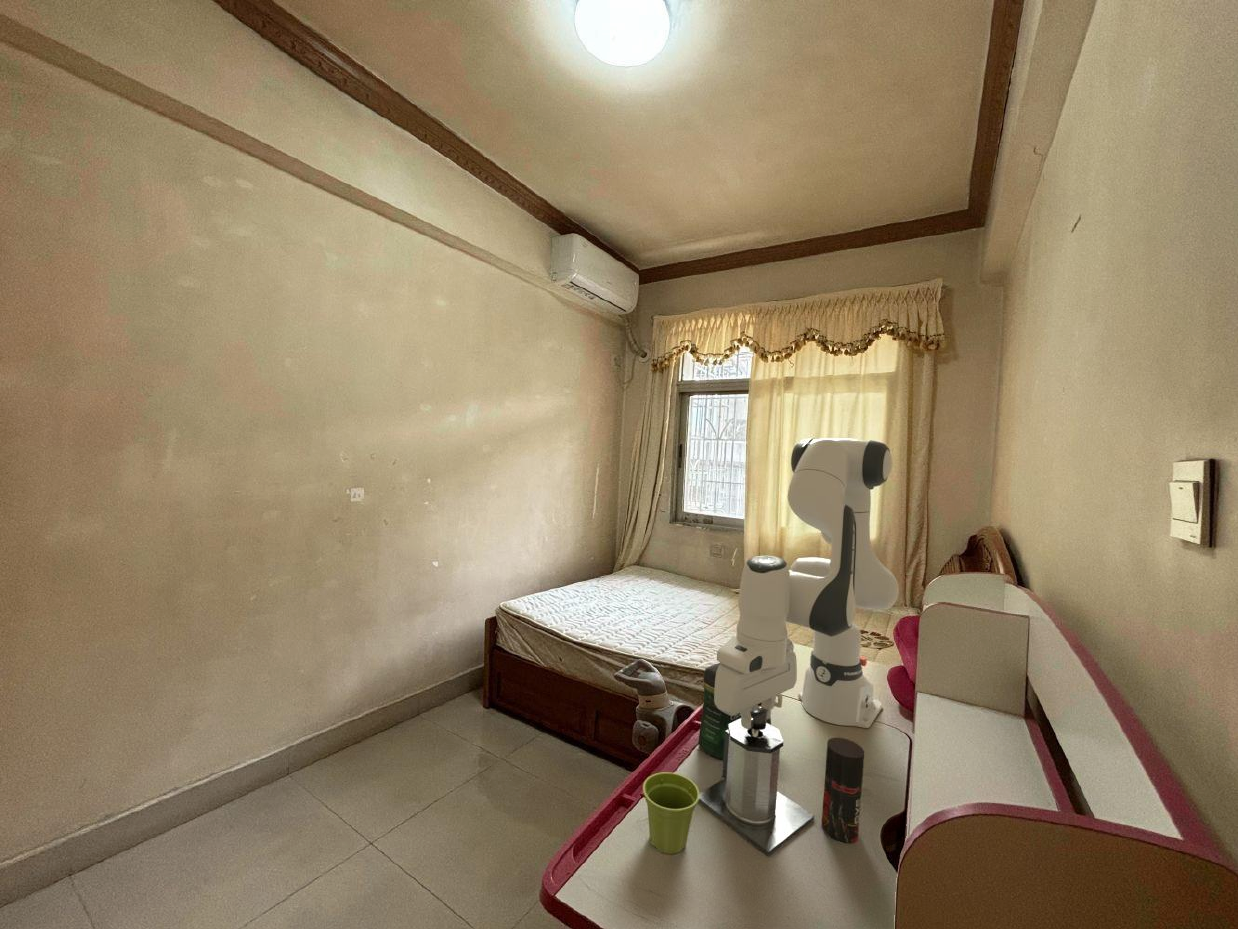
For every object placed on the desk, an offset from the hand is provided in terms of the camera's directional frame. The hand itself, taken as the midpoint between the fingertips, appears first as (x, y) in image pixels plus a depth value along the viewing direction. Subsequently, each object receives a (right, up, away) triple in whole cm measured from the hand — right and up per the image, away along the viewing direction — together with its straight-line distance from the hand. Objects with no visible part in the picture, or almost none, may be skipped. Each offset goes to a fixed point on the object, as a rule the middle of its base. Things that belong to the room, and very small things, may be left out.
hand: (755, 722), depth 91 cm
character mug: (+8, -16, +27) cm, 32 cm away
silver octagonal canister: (-1, -17, +1) cm, 17 cm away
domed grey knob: (-1, -12, 0) cm, 12 cm away
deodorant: (+14, -18, -3) cm, 23 cm away
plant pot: (-17, -16, -7) cm, 24 cm away
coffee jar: (-2, -16, +20) cm, 26 cm away
